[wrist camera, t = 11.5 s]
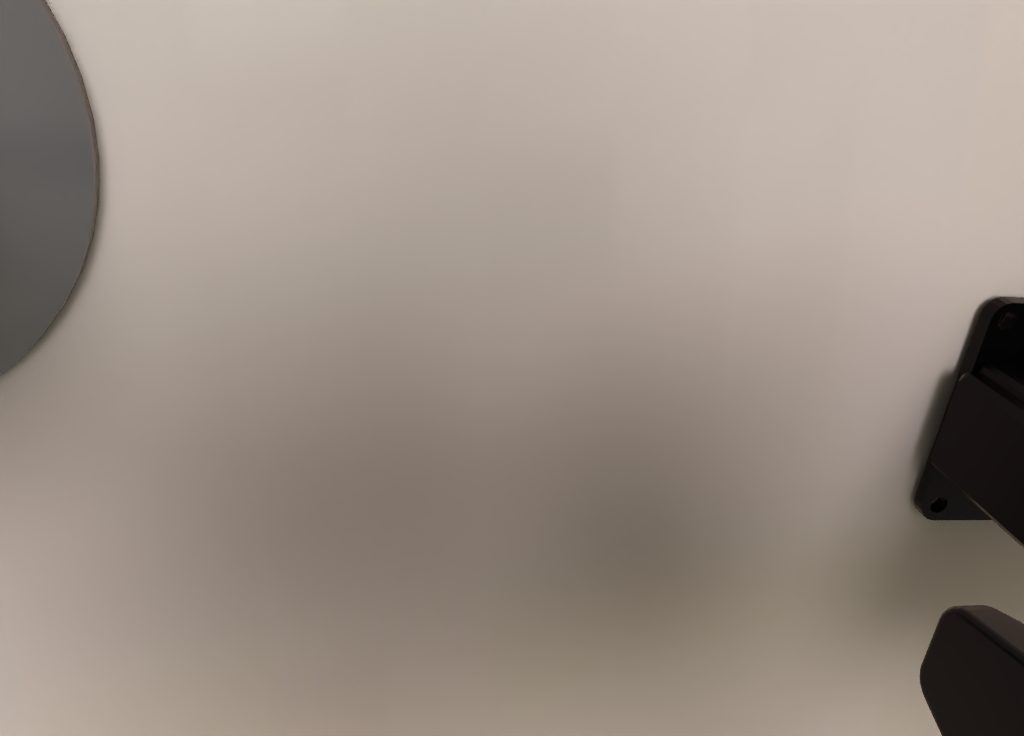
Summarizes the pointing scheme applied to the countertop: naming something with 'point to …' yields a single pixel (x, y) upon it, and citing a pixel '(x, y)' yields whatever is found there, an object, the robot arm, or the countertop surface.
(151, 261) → the countertop surface
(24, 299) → the coaster
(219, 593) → the countertop surface
